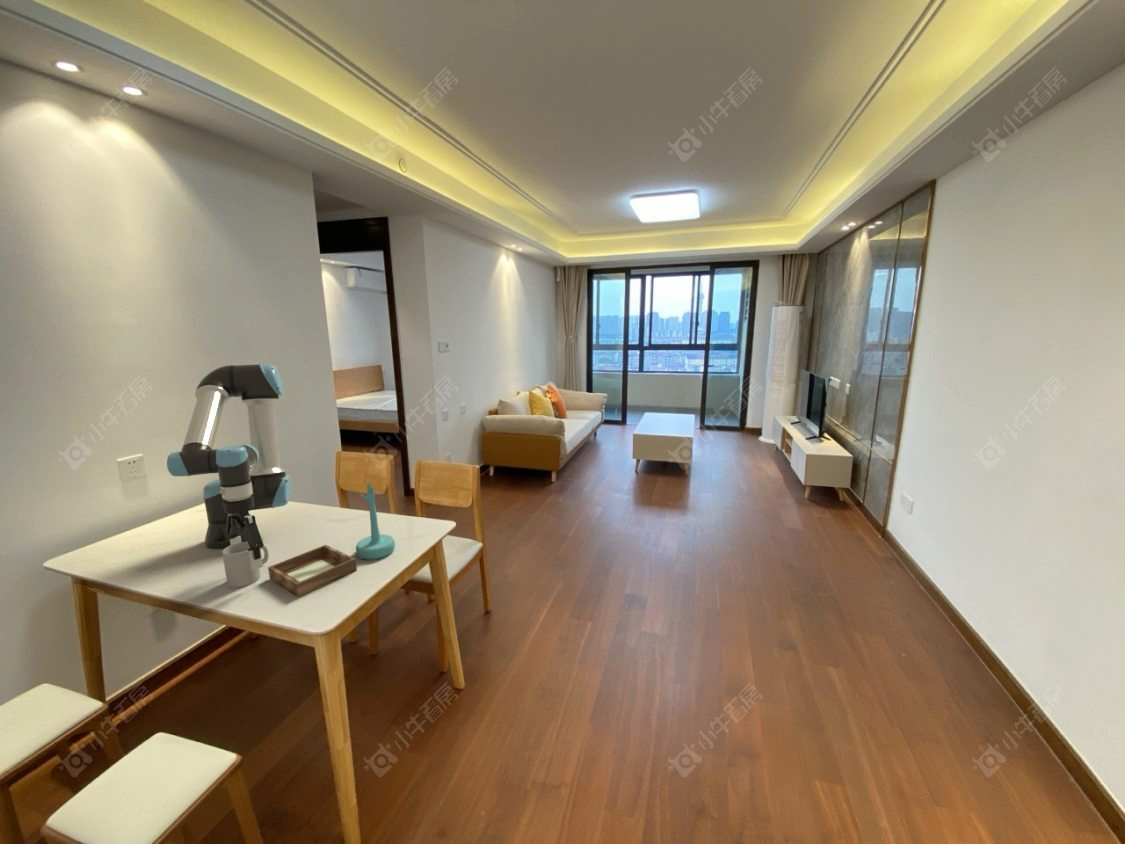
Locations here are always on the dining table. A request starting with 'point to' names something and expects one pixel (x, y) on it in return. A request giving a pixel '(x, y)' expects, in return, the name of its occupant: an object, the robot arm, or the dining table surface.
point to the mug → (241, 565)
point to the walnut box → (312, 570)
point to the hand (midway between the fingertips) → (247, 562)
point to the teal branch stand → (374, 535)
